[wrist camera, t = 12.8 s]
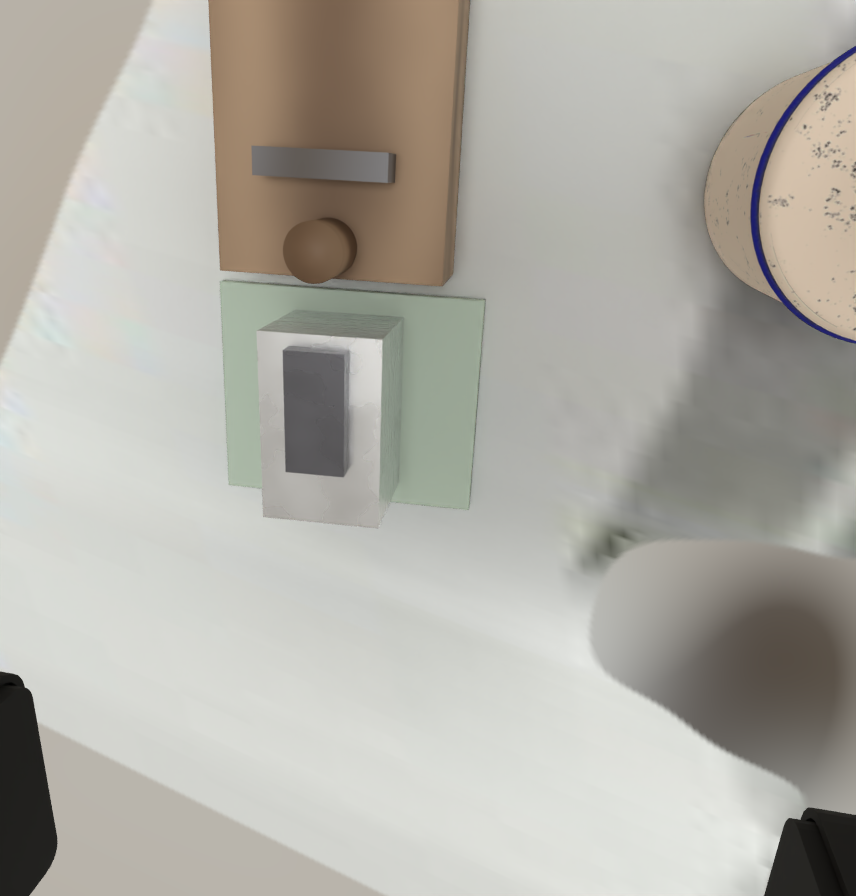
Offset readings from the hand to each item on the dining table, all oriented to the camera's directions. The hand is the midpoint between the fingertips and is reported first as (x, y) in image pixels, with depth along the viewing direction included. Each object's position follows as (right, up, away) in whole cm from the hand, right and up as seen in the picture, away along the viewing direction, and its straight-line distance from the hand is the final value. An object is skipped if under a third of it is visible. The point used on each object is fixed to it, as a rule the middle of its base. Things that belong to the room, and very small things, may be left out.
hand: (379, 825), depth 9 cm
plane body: (-2, +21, +21) cm, 30 cm away
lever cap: (-3, +7, +26) cm, 27 cm away
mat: (-3, +7, +26) cm, 27 cm away
